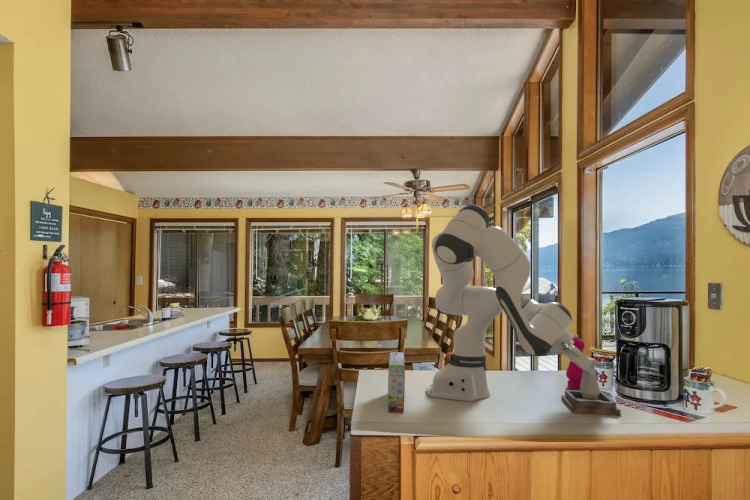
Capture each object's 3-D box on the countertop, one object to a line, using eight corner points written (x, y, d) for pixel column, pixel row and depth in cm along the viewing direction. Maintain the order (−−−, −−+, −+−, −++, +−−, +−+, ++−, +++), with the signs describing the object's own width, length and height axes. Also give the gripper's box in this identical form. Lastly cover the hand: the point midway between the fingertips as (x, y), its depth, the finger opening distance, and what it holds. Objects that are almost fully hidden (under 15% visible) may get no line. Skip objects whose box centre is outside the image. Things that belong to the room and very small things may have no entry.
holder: (572, 412, 134) (572, 401, 134) (561, 399, 147) (561, 389, 147) (620, 415, 132) (620, 403, 132) (605, 401, 145) (604, 391, 145)
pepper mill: (563, 386, 163) (562, 333, 164) (571, 382, 168) (570, 331, 169) (582, 390, 158) (581, 336, 159) (590, 386, 163) (589, 334, 163)
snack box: (405, 413, 134) (405, 365, 134) (387, 413, 134) (387, 364, 135) (404, 393, 155) (404, 351, 155) (388, 392, 155) (388, 351, 156)
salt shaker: (602, 401, 135) (601, 360, 136) (583, 400, 136) (581, 359, 137) (596, 396, 141) (595, 356, 142) (577, 395, 142) (576, 356, 143)
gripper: (574, 339, 131) (609, 372, 129) (558, 329, 151) (588, 358, 149) (559, 353, 131) (594, 386, 129) (545, 341, 152) (574, 370, 149)
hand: (590, 371), depth 139 cm, fingers closed on salt shaker, 3 cm apart
